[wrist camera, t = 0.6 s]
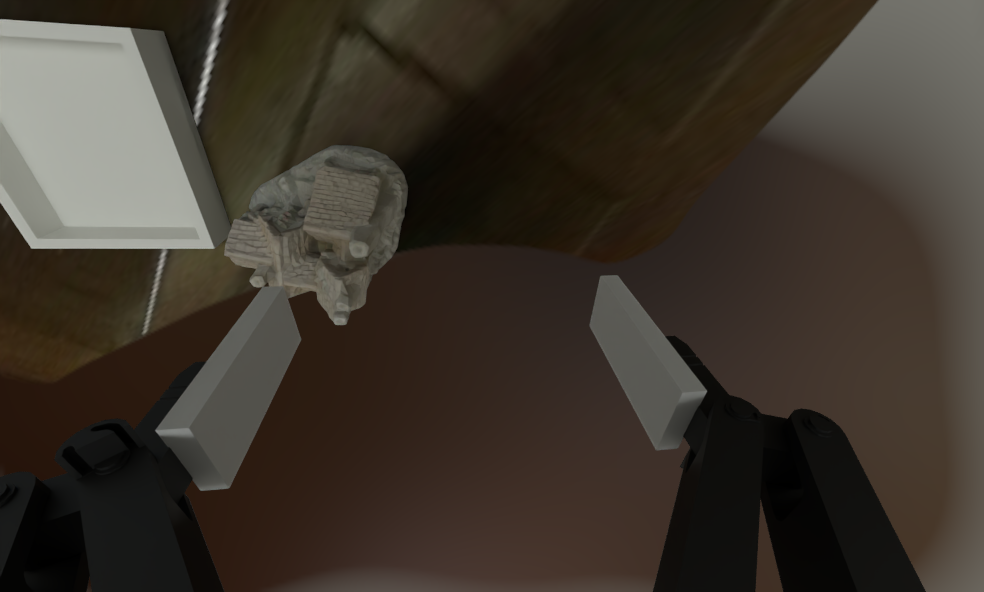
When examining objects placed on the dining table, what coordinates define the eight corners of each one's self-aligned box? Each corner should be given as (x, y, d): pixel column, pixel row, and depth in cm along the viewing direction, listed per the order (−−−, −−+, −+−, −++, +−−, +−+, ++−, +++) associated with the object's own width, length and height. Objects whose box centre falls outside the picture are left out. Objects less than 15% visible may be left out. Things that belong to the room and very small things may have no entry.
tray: (-64, 15, 29) (-130, 10, 25) (163, 31, 31) (129, 28, 27) (67, 231, 38) (31, 248, 35) (233, 232, 40) (214, 248, 37)
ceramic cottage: (425, 171, 39) (403, 227, 27) (381, 290, 47) (347, 376, 35) (270, 101, 35) (156, 128, 23) (249, 244, 43) (157, 323, 30)
